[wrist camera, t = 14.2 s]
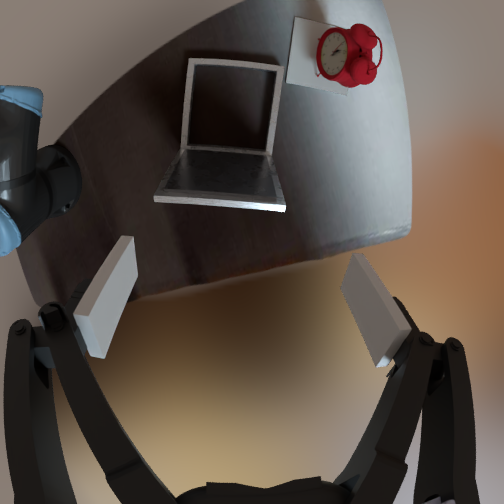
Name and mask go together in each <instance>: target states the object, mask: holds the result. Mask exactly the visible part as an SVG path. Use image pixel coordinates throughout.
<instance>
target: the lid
mask: <svg viewBox="0 0 504 504" xmlns="http://www.w3.org/2000/svg"><path fill="white" fill-rule="evenodd" d="M154 202H168V203H185V204H200V205H214V206H227V207H239V208H251V209H261V210H272V211H282V212H285V208H286V204H285V200H284V197H283V193H282V190H281V186H280V183H279V179H278V176H277V172H276V169H275V165H274V162H273V159H272V157H270V156H264V155H255V154H246V153H235V152H223V151H210V150H192V149H180V150H179V152H178V153H177V155H176V157H175V158H174V160H173V162H172V163H171V165H170V167H169V169H168V170H167V172H166V174H165V176H164V178H163V179H162V181H161V183H160V185H159V187H158V189H157V190H156V192H155V194H154Z"/></svg>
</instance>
